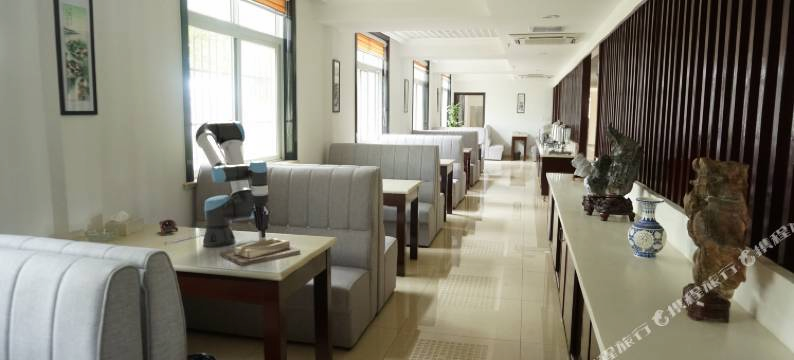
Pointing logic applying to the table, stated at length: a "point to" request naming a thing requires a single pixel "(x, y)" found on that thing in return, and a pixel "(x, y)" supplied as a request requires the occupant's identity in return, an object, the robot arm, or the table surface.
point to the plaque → (187, 239)
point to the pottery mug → (168, 225)
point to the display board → (270, 256)
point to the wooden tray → (261, 247)
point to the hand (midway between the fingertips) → (262, 243)
